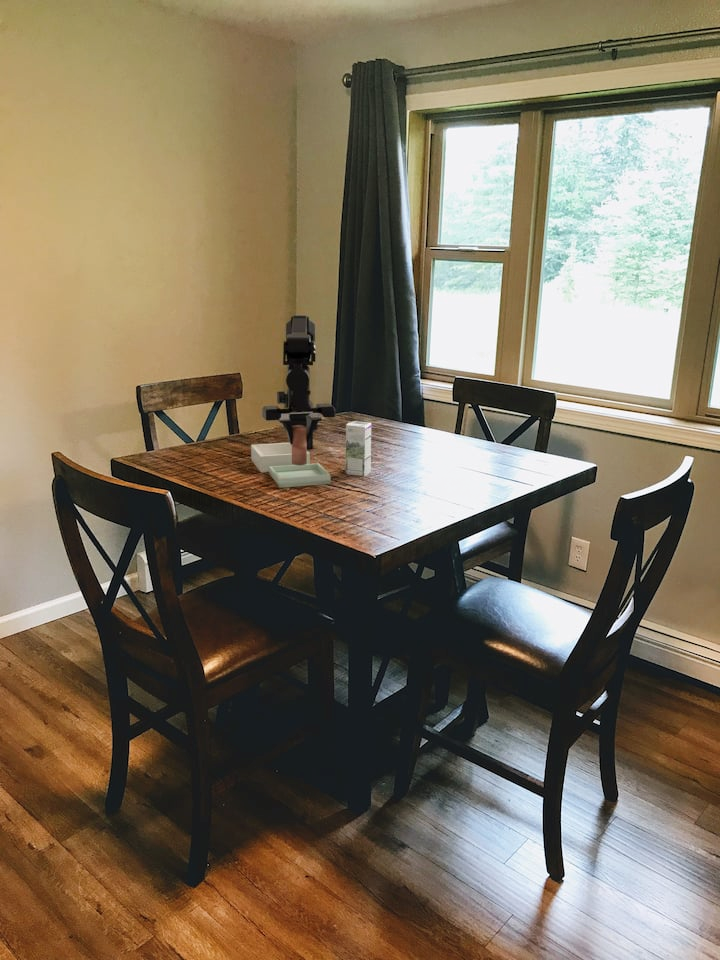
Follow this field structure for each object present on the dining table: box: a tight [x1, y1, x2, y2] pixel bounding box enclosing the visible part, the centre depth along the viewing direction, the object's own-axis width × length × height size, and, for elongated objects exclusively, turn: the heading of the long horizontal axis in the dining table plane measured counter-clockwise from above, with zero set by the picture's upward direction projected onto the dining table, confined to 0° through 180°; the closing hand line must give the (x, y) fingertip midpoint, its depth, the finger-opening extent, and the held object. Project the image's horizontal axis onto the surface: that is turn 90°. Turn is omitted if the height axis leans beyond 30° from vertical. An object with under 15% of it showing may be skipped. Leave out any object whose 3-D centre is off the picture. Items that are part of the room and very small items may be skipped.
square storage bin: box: [250, 441, 311, 473], centre depth 218 cm, size 14×14×5 cm
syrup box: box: [345, 420, 372, 477], centre depth 210 cm, size 6×6×14 cm
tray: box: [268, 462, 332, 489], centre depth 205 cm, size 14×12×2 cm
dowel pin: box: [292, 425, 308, 465], centre depth 203 cm, size 4×4×10 cm
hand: (299, 443), depth 203 cm, fingers closed on dowel pin, 4 cm apart
